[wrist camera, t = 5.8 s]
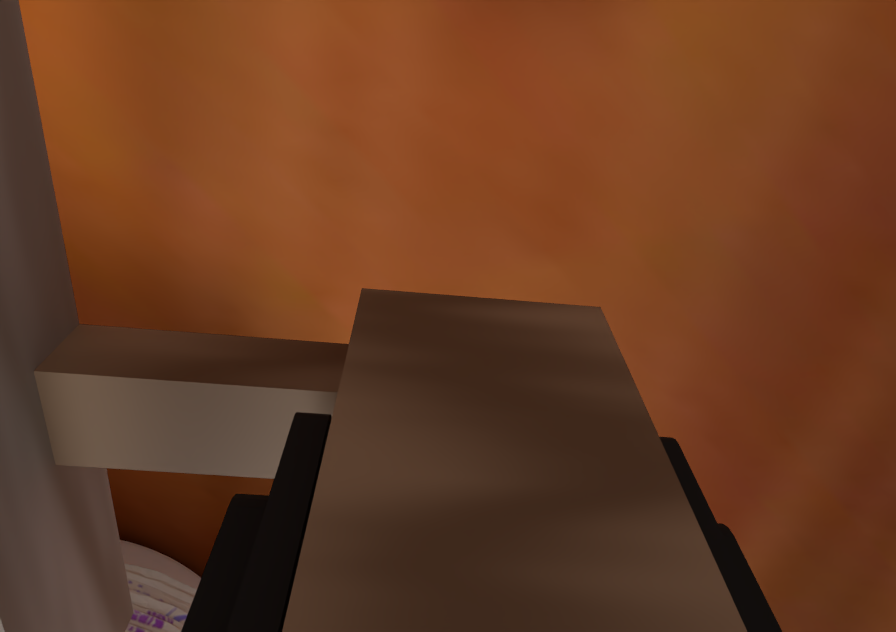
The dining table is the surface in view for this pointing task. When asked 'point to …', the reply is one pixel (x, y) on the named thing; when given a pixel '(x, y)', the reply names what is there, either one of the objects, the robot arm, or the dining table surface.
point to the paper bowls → (157, 589)
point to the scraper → (339, 447)
